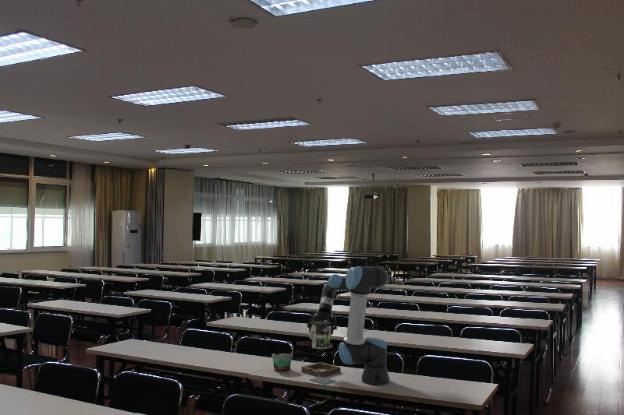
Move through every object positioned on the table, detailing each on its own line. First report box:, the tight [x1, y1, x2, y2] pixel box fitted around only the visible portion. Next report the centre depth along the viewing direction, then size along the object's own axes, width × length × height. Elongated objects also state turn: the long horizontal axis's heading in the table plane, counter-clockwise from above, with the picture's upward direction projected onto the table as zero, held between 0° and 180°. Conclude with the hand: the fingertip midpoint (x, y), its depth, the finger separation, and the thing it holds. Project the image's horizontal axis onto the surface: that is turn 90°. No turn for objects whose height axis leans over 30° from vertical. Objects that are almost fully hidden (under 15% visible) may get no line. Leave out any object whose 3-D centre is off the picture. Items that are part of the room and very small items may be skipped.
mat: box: [309, 376, 336, 386], centre depth 322 cm, size 11×9×1 cm
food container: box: [271, 352, 293, 373], centre depth 342 cm, size 12×6×10 cm, turn 105°
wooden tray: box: [301, 361, 342, 378], centre depth 340 cm, size 16×16×3 cm
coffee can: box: [311, 320, 331, 350], centre depth 335 cm, size 10×10×14 cm
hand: (319, 338), depth 332 cm, fingers closed on coffee can, 10 cm apart
